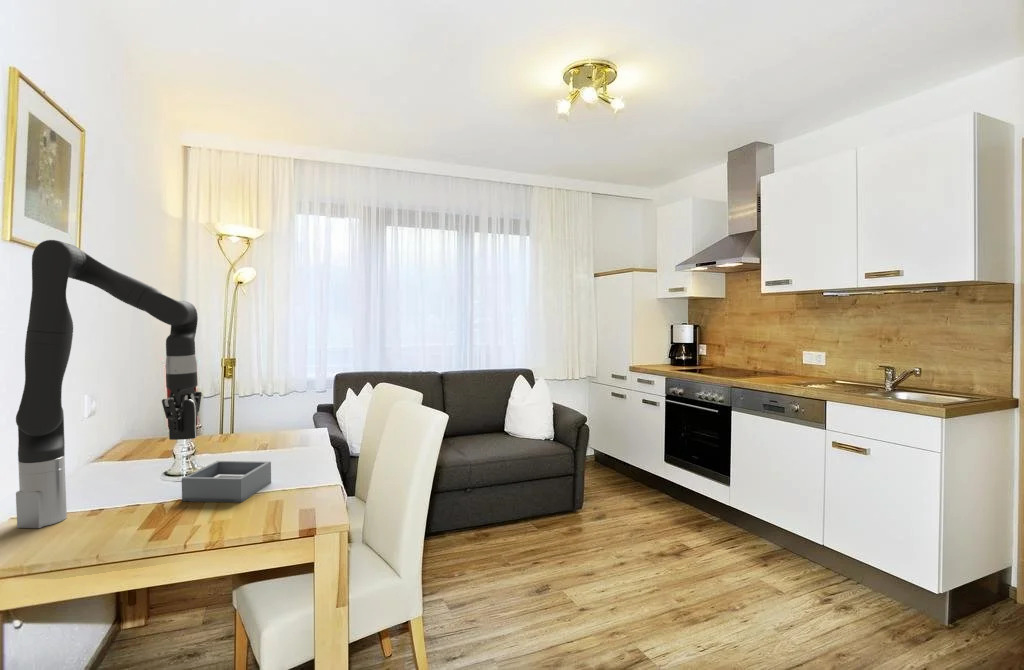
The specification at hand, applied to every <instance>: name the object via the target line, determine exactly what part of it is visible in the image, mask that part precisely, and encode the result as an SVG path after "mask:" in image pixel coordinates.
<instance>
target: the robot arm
mask: <svg viewBox="0 0 1024 670" xmlns="http://www.w3.org/2000/svg"><path fill="white" fill-rule="evenodd" d="M69 279H72V280H76V281H80V282H83V283H86V284H89V285H92V286H94V287H96V288H98V289H101V290H102V291H104V292H105V293H107V294H108V295H110V296H113V298H115V299H117V300H119V301H120V302H123V303H125V304H126V305H129V306H131V307H133V308H136V309H138V310H141V311H143V312H146V313H147V314H149V315H150V316H152V317H153V318H155V319H156V320H158V321H160V322H162V323H165V324H166V325H169V326H170V333H169V335H168V336H167V337H166V339H165V353H166V354H165V355H166V356H165V383H166V386H165V387H166V388H167V389H168V390H169V391H170V394H169V397H167V398H163V399H161V404H162V408H163V411H164V415H165V418H166V419H167V420H168V419H171V420H172V421H173V432H174V433H181V432H182V431H183V430H182V420H181V419H182V414H183V412H184V411H185V401H186V400H187V399H194V400H196V402H197V409H198V413H199V411H200V408H201V407H200V406H201V399H202V395H203V394H202V392H201V391H196V390H195V388H196V387H198V364H197V363H198V362H197V357H196V342H195V341H196V340H195V339H196V333H197V327H198V320H199V317H198V311H197V308H196V307H195V305H194V304H193V303H191V302H190V301H186V300H177V299H174V298H171V297H170V296H168V295H165V294H163V293H162V291H160V290H159V289H158V288H156V287H154V286H152V285H149V284H147V283H145V282H143V281H140V280H138V279H136V278H133V277H132V276H129V275H126V274H124V273H121V272H119V271H117V270H115V269H113V268H111V267H109V266H107V265H106V264H103V262H100V261H98V260H97V259H95V258H94V257H92V256H91V255H89V254H88V253H87V252H85V251H84V250H82V249H81V248H79V247H77V246H76V245H73V244H70V243H67V242H64V241H60V240H55V239H47V240H43V241H42V242H40V243H38V244H37V246H35V248H34V250H33V253H32V257H31V299H30V307H29V313H28V315H29V316H28V317H29V318H28V323H27V329H26V330H27V331H26V336H25V343H24V344H25V345H24V347H25V348H24V375H25V376H24V377H25V378H24V379H25V381H24V387H23V392H22V395H21V400H20V403H19V406H18V411H17V412H16V417H15V423H16V425H17V433H18V434H17V437H18V446H17V447H18V448H17V460H18V487H19V490H17V491H16V492H15V504H16V505H15V508H16V528H18V529H19V528H20V529H42V528H43V527H47V526H50V525H54V524H58V523H60V522H62V521H64V520H65V519H67V517H68V511H67V508H68V507H67V486H66V484H67V483H66V462H65V461H66V459H65V458H66V456H65V455H66V454H65V450H66V449H65V448H66V447H65V446H66V445H65V420H64V419H65V416H64V409H63V406H62V391H63V390H62V389H63V381H64V377H65V374H66V370H67V367H68V363H69V360H70V355H71V350H72V346H73V345H72V344H73V337H74V322H73V318H72V314H71V312H70V307H69V304H68V301H67V287H68V281H69ZM175 407H180V408H175ZM176 411H178V415H177V412H176ZM170 412H172V413H171V414H170Z"/></svg>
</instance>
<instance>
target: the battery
mask: <svg viewBox="0 0 1024 670" xmlns="http://www.w3.org/2000/svg"><path fill="white" fill-rule="evenodd" d="M175 408H180V407H175ZM176 412H177V415H178V411H176ZM171 413H172V412H170V414H171ZM197 416H199V412H198V409H197V402H196V399H195V400H194V399H187V400H186V401H185V411H184V412H183V414H182V419H181V420H182V430H183V431H182V432H181V433H174V432H173V421H172V420H171V419H167V422H168V423H167V424H168V435H169V437H168V438H169V440H170V441H175V440H177V441H178V440H179V441H180V440H193V439H196V438H197V437H198V433H197V432H198V430H197Z"/></svg>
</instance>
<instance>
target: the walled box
mask: <svg viewBox="0 0 1024 670" xmlns="http://www.w3.org/2000/svg"><path fill="white" fill-rule="evenodd" d="M269 484H272V462H271V461H256V460H255V461H249V460H244V461H243V460H216V461H215V462H213V463H211V464H208V465H206V466H204V467H202V468H200V469H198V470H195V471H193V472H192V473H189V474H188V475H185V476H183V477H182V478H181V502H186V501H189V502H192V503H193V502H195V503H196V502H198V503H200V502H201V503H203V502H204V503H243V502H245V501H246V500H247V499H249V498H251V497H252V496H253V495H255V494H256V493H258V492H259V491H260V490H263V489H264V488H265V487H267V486H268V485H269ZM189 502H188V503H189Z"/></svg>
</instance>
